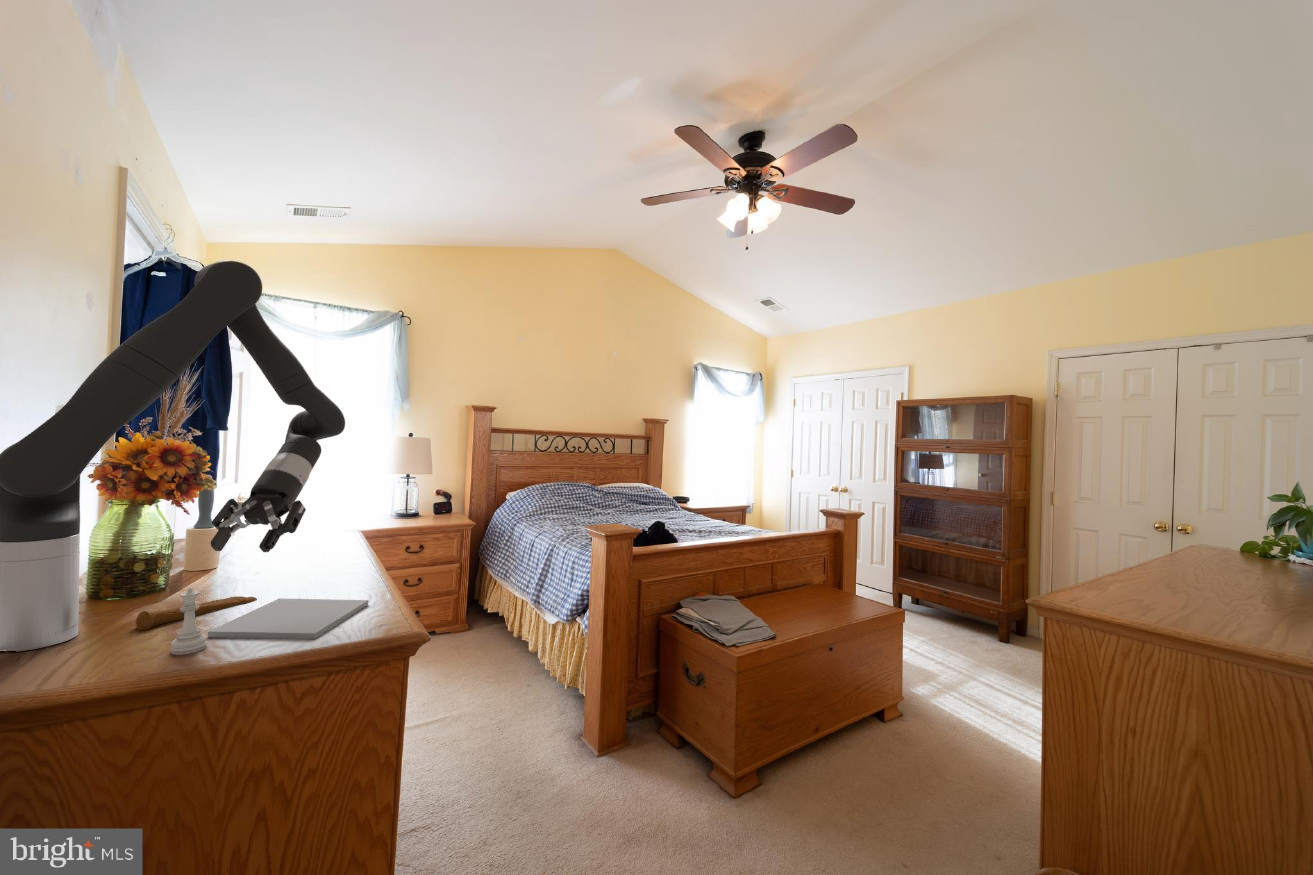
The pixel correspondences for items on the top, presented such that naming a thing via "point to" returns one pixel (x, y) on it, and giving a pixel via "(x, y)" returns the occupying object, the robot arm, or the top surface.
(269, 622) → the slate tile
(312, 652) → the top surface
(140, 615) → the primitive tool
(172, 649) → the chess piece
